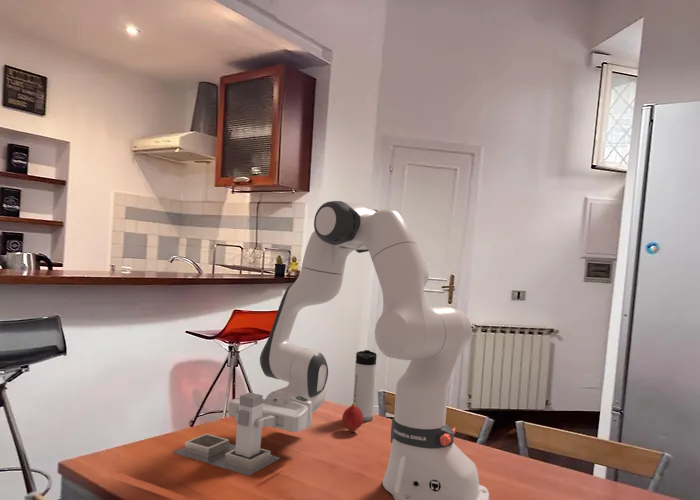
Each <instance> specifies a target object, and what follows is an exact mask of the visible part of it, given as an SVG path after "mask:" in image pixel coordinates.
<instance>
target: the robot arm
mask: <svg viewBox="0 0 700 500" xmlns="http://www.w3.org/2000/svg"><path fill="white" fill-rule="evenodd" d="M313 227H314V228H313V229H314V231H313V232H312V233H311V235H310V237H309V239H308V242H307V244H306V248H305V252H304V254H303V259H302V262H301V263H302V264H301V270H300V273H299V274H298V277H297V278H296V280H295V281H294V282H293V283H291V284H289V285H288V287H286V290H285V291H284V294H283V296H282V298H281V301H280V303H279V307H278V310H277V312H276V314H275V315H276V316H275V318H274V321H273V324H272V326H271V330H270V333H269V336H268V338H267V340H266V343H265V344H264V346H263V347H262V351H261V353H260V356H259V364H260V367H261V370H262V372H263V374H264V376H266V377H268V378H272V379H275V380H280V381H284V382H287V383H288V384H287V386H285V387H282V388H279V389H277V390H273V391H271V392H270V393H269V394H267V396H266V397H265V398H262V404H263V416H262V418H258V419H256V420H255V424H254V426H255V427H257V428H262V429H263V428H267V427H269V428H271V427H272V428H275V429H280V430H285V431H288V432H292V433H299V432H301V431H304V430H305V429H308V428H310V427H311V425H312V424H311V423H312V418H313V417H312V416H313V413H315V412H317V410H318V409H319V408H321V406H322V405H323V403H324V402H325V399H326V388H325V387H326V384H327V382H328V376H329V367H328V363H327V360H326V358H325V356H324V354H323V353H321V352H318V351H316V350H312V349H309V348H305V347H302V346H298V345H295V344H292V343H291V342H290V336H291V333H292V331H293V327H294V324H295V321H296V319H297V316H298V314H299V312H300V311H301V310H302V309H304V308H306V307H310V306H315V305H316V306H317V305H320V304H321V305H322V304H325V303H328V302H330V301H332V300H334V298H335V297H337V296H338V294H339V293H340V290H341V287H342V285H343V279H344V274H345V267H346V261H347V259H348V256H349V254H351V253H352V252H354V251H355V252H356V253H359V254H361V253H367V252H369V256H370V259H371V262H372V265H373V267H374V270H375V273H376V276H377V279H378V281H379V282H378V283H379V284H380V285H379V286H380V290H381V292H382V301H383V302H382V311H381V315H380V316H379V318H378V319H377V321H376V323H375V329H374V339H375V342H376V346H377V348H378V349H379V351H380V353H382V354H383V355H384V356H385V357H387V358H390V359H395V360H400V361H401V360H402V361H410V362H409V364H408V367H407V368H406V371H405V372H403V374H402V375H401V376H400V377H399V379H398V380H397V383H396V386H395V399H394V401H395V402H394V413H393V414H394V416H393V417H392V419H391V427H390V444H391V447H390V454H389V458H388V463H387V468H386V469H385V474H384V475H383V476H384V477H383V479H382V486H383V488H384V489H385V490H386V491H387V492H388V493H390V494H391V495H392V497H393V499H394V500H490V492H489V490H488V489H487V487H486V486H485V485H482V484H480V479H479V471H478V468H477V466H476V464H475V462H473V460H471V459H470V457H468V456H467V455H466V454H465V453H464V452H463V451H462V450H461V449H460V448H459V447H458V446H457V445H456V444H455V443H454V438H455V434H456V427H453V428H451V427H450V426H449V424H447V422H446V417H447V408H448V407H447V406H448V404H447V403H448V396H449V394H448V393H449V388H450V383H451V380H452V376H453V373H454V370H455V368H456V365H457V362H458V359H459V358H460V355H461V354H462V352H463V350H464V349H465V348H466V347H467V346H468V345H469V342H470V341H471V338H472V334H473V333H472V332H473V329H472V324H471V321H470V319H469V318H468V316H467V314H466V313H464V311H461V310H459V309H457V308H453V307H450V306H447V305H435V306H430V305H429V306H428V304H427V302H426V299H425V292H424V291H425V290H424V289H425V286H426V285H427V283H428V282H429V277H430V274H429V271H428V268H427V266H426V263H425V261H424V258H423V255H422V253H421V250H420V248H419V246H418V243H417V240H416V238H415V236H414V234H413V232H412V231H411V229H410V228H409V226H408V224H407V223H406V221H405V219H404V218H403V216H402V215H401V214H400V213H399V212H398V211H397V210H394V209H391V208H390V209H389V208H387V209H381V210H378V209H372V208H369V207H367V206H363V205H362V204H359V203H358V204H357V203H352V202H344V201H341V200H331V201H326V202H325V203H323V204H321V206H319V207H318V209H317V210H316V213H315V215H314V220H313ZM239 404H240V397H238V398H233V399H230V400H229V401H228V406H227V414H228V416H229V417H234V418H235V419H234V420H235V421H234V422H235V423H237V416H238V405H239Z"/></svg>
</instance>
